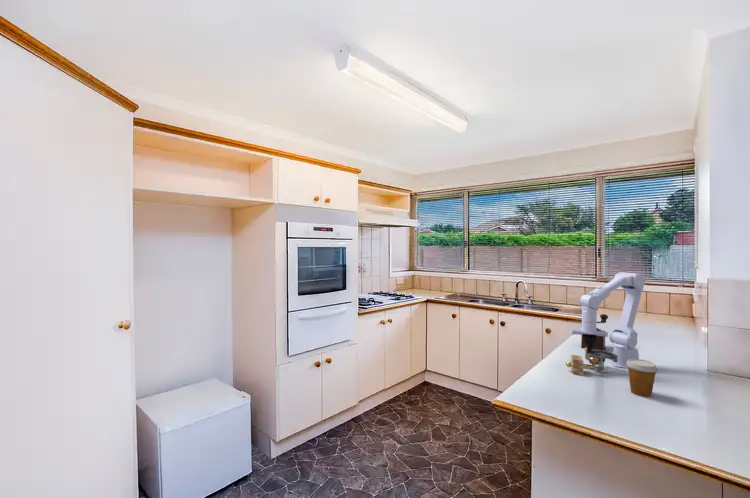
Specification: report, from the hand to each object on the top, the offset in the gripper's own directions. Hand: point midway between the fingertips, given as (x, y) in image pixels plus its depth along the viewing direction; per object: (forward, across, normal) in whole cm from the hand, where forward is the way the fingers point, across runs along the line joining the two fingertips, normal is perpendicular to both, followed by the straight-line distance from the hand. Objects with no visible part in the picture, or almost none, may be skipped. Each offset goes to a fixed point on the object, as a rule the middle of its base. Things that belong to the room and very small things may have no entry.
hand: (588, 351), depth 158 cm
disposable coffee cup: (+9, -11, +23) cm, 27 cm away
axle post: (+8, -5, -1) cm, 10 cm away
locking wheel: (+4, -5, -2) cm, 6 cm away
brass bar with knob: (+7, +4, +5) cm, 10 cm away
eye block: (+8, +6, +5) cm, 12 cm away
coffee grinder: (+8, -15, -40) cm, 44 cm away
